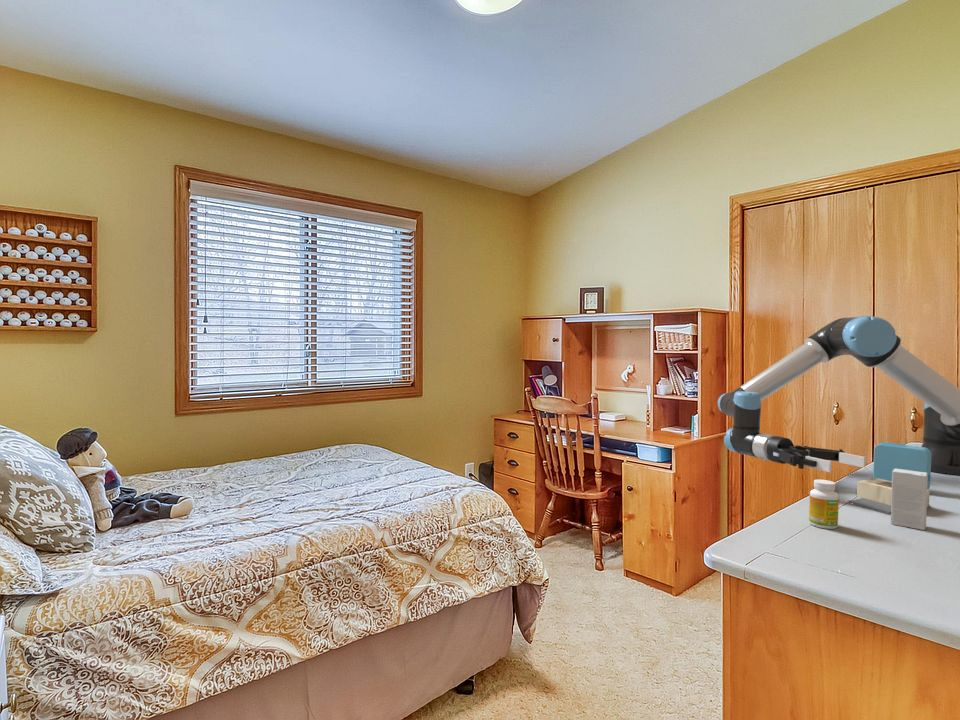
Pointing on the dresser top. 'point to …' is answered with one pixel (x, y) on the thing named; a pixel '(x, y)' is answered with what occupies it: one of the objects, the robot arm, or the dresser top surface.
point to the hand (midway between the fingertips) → (848, 464)
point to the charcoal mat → (872, 505)
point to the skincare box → (909, 498)
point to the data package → (900, 460)
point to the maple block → (878, 490)
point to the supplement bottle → (824, 505)
